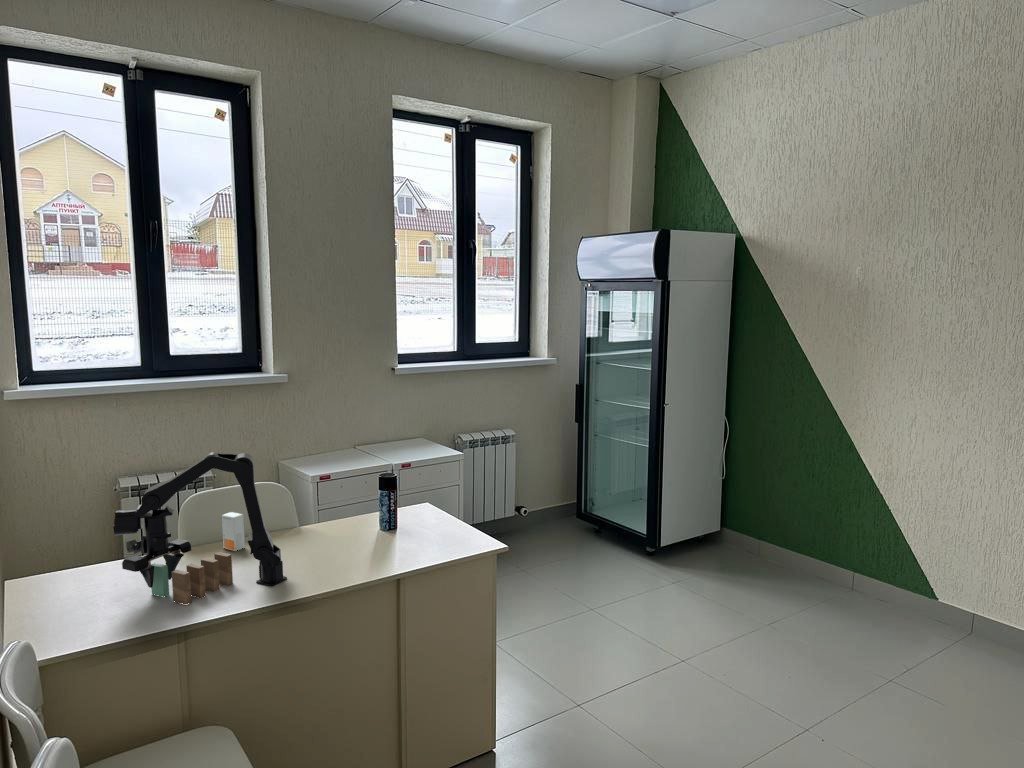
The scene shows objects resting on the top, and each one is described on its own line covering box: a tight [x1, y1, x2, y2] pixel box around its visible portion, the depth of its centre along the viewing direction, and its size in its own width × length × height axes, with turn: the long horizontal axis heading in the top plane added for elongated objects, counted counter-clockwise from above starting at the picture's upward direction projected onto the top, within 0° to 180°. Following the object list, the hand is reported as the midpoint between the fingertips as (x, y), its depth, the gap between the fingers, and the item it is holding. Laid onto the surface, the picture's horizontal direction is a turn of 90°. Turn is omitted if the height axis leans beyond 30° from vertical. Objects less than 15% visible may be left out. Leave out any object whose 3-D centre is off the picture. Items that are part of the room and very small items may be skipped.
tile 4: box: [186, 563, 207, 599], centre depth 202 cm, size 2×5×9 cm, turn 65°
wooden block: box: [213, 551, 234, 586], centre depth 211 cm, size 2×5×9 cm, turn 65°
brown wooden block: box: [171, 569, 192, 604], centre depth 197 cm, size 2×5×9 cm, turn 65°
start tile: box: [151, 562, 170, 598], centre depth 202 cm, size 2×5×9 cm, turn 65°
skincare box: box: [221, 511, 246, 552], centre depth 240 cm, size 6×4×12 cm
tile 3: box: [200, 557, 221, 593], centre depth 206 cm, size 2×5×9 cm, turn 65°
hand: (159, 583), depth 203 cm, fingers open, 6 cm apart
